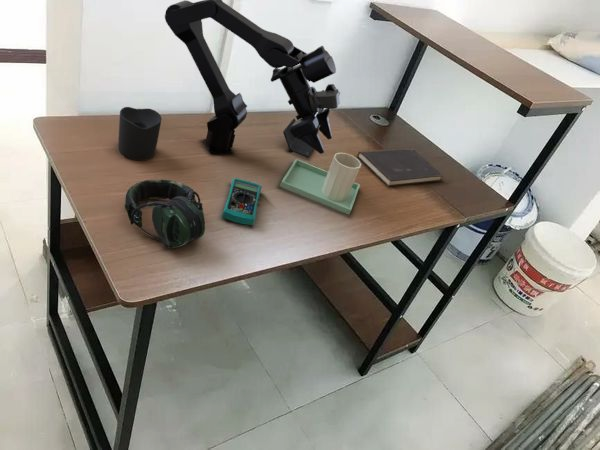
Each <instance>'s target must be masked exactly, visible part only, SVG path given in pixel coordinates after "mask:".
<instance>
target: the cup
mask: <svg viewBox="0 0 600 450" xmlns="http://www.w3.org/2000/svg"><path fill="white" fill-rule="evenodd" d="M361 166H362V162H361V160H360V159H359V158H358V157H356V156H355V155H352V154H350V153H347V152H337V153H335V154H334V156H333V158H332V161H331V163H330V165H329V167H328V170H327V171H328V173H327V176H326V178H325V181H324V184H323V186H322V189H321V191H322V193H323V195H325V196H326V197H327V198H329V199H331V200H333V201H339V202H342V201H345V200H346V199H347V197H348V195H349V192H350V190H351V188H352V185H353V183H354V182H356V181H355V180H356V178H357V175H358V173H359V171H360V169H361Z"/></svg>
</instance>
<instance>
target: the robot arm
mask: <svg viewBox="0 0 600 450" xmlns="http://www.w3.org/2000/svg"><path fill="white" fill-rule="evenodd" d="M209 18H210V19H212V20H213V21H215V22H217V23H218V24H219V25H220V26H222V27H224V28H225V29H227V30H228V31H230V32H231V33H232V34H234V35H235V36H237V37H238V38H240V39H241V40H243V41H244V42H246V43H247V44H249V46H251V47H252V48H253V49H254V50H255V51H256V53H257V54H258V56H259V57H260V58H261V59H262V60H263V61H264V62H265V63H267V65H269V67H271V68H273V70H272V75H271V78H270V82H272V83H273V82H275V81H278V80H279V81H280V83H281V84H282V86H283V89H284V91H285V92H286V94H287V96H288V99H289V100H287V103H288V105H289V106H291V105H292V106H293V108H294V110H295V112H296V115H295V119H296V121H295V123H294V124H293V125H292V127H291V130H290V132H291V134H292V135H293V137H294V138H297V139H300V140H302V141H303V142H305V143H306V144H308V145H309V146H311V147H312V148H313V150H315V151H316V152H317V153H318V154H320V155H323V154H324V153H325V149H324V146H323V142H322V140H321V137H320V134H319V132H320V133H321V134H322V135H323V136H324V137H325V138H326V139H327V140H331V139H333V135H332V130H331V125H330V120H329V114H330V113H331V110H335V109H337V108H338V107H339V105H340V104H341V101H340V95H341V92H340V91H339V88H337V87H336V86H335V84H334V83H328V84H327V85H326V87H325V89H322V90H319V91H317V89H316V87H314V86H313V85H312V86H311V85H310V82H311V83H313V84H314V83H317V82H318V81H321V80H323V79H326V78H328V77H330V76H332V75H334V74H336V73H337V68H336V63H335V61H334V58H333V56H332V55H331V54H330V53H329V51H327V49H325V46H324V45H320V46H318V47H317V48H316V49H314V50H312V51H310V52H308V53H307V52H305V51H304V50H302V49H300V48H298V47H296V46H295V45H294V44H293V42H292V41H291V40H290V39H289V38H287V37H285V36H283V35H280V34H278V33H276V32H272V31H269V30H266V29H264V28H262V27H260V26H259V25H258V24H256V23H254V22H253V21H251V20H250V19H249V18H247V17H246V16H244V15H243V14H242V13H240V12H239V11H237V10H236V9H234V8H233V7H231V6H230V5H228V4H227V3H225V2H224V1H223V0H199V1H196V2H192V1H190V0H181V1H179V2H176V3H174V4H173V3H172V4H170V5H169V6H167V8H166V10H165V14H164V19H165V23H166V24H167V26H168V27H169V29H170V30H171V32H172V33H173V34H174V36H175V37H176V38H178V40H180V41H181V42H182V43H183V44H184V45H185V47H186V48H187V49H188V50H187V51H188V52H189V54H190V56H191V58H192V60H193V62H194V64H195V65H196V68H197V70H198V72H199V74H200V76H201V78H202V79H203V81H204V83H205V86H206V87H207V89H208V91H209V93H210V95H211V97H212V100H213V112H214V116H212V117H211V118H210V119H209V120H208V121H207V122H206V128H207V132H206V136H205V139H202V143H203V144H204V146H205V148H206V149H207V150H208V152H209V154H210V155H223V154H224V155H225V154H228V155H229V154H231V155H232V154H233V152H234V150H232V149H233V147H234V146H233V145H234V142H235V138H236V134H235V133H236V129H237V128H238V127H239V126H240V125H242V123H243V122H244V121H245V120H246V118H247V115H248V110H247V108H248V105H247V103H246V102H245V101H244V99H243V96H242V94H241V92H238V93H236V94H235V92H233V91H232V90H231V89H230V87H229V86H228V85H229V84H228V83H227V81H226V79H225V77H224V75H223V73H222V72H221V70H220V67H219V65H218V63H217V61H216V59H215V57H214V54H213V53H212V51H211V49H210V47H209V45H208V43H207V41H206V38H205V37H204V33H203V32H204V31H203V20H206V19H209Z"/></svg>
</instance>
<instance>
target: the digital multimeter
mask: <svg viewBox="0 0 600 450" xmlns="http://www.w3.org/2000/svg"><path fill="white" fill-rule="evenodd" d="M261 191H262V185H261V184H258V183H255V182H252V181H249V180H245V179H241V178H237V177H235V178H234V177H233V178H232V180H231V184H230V189H229V193H228V196H227V200H226V202H225V205H224V207H223V211H222V215H221V217H222V218H223V219H225V220H228V221H231V222H234V223H237V224H240V225H241V224H242V225H249V226H254V225H255V221H256V215H257V208H258V202H259V197H260V194H261Z"/></svg>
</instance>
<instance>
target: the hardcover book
mask: <svg viewBox="0 0 600 450" xmlns="http://www.w3.org/2000/svg"><path fill="white" fill-rule="evenodd" d="M357 159H358V160H359V161H360V162H361V163H363V164H364V165H365V166H366V168H368V169H369V170H370V171H371V172H372V173H373V174H374V175H375V176H376V177H377V179H379V180H380V181H381V182H382V183H383V184H384V185H385V186H387V187H388V188H391V187H399V186H409V185H418V184H426V183H437V182H441V181H442V180H441V178H442V177H444V174H442V173H441V172H440V171H439V170H438V169H437V168H436V167H434V166H433V165H432V163H430V162H429V161H428V160H426V159H425V157H423V156H422V155H421V154H419V153H418V152H417V151H416V150H415V149H414V148H397V149H394V148H393V149H380V150H361V151H358V153H357Z"/></svg>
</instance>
